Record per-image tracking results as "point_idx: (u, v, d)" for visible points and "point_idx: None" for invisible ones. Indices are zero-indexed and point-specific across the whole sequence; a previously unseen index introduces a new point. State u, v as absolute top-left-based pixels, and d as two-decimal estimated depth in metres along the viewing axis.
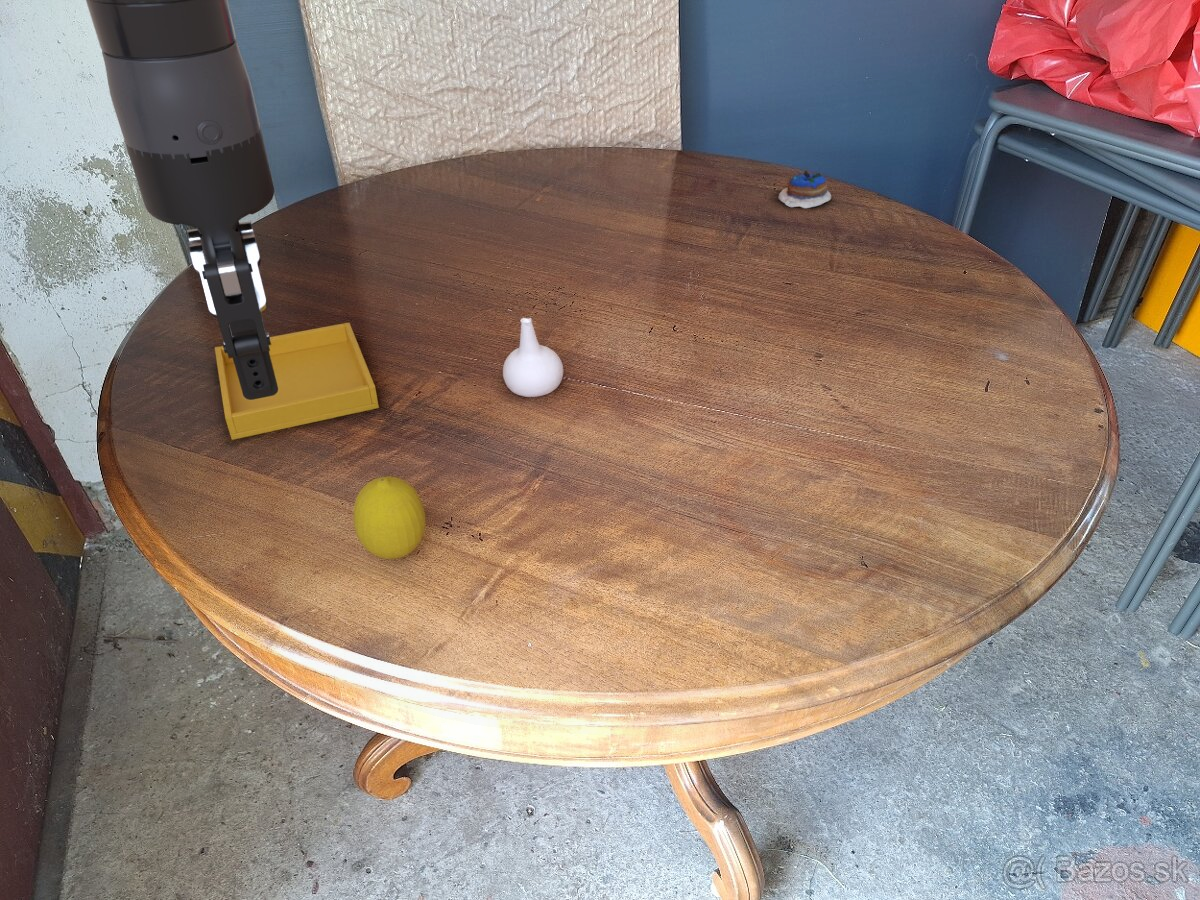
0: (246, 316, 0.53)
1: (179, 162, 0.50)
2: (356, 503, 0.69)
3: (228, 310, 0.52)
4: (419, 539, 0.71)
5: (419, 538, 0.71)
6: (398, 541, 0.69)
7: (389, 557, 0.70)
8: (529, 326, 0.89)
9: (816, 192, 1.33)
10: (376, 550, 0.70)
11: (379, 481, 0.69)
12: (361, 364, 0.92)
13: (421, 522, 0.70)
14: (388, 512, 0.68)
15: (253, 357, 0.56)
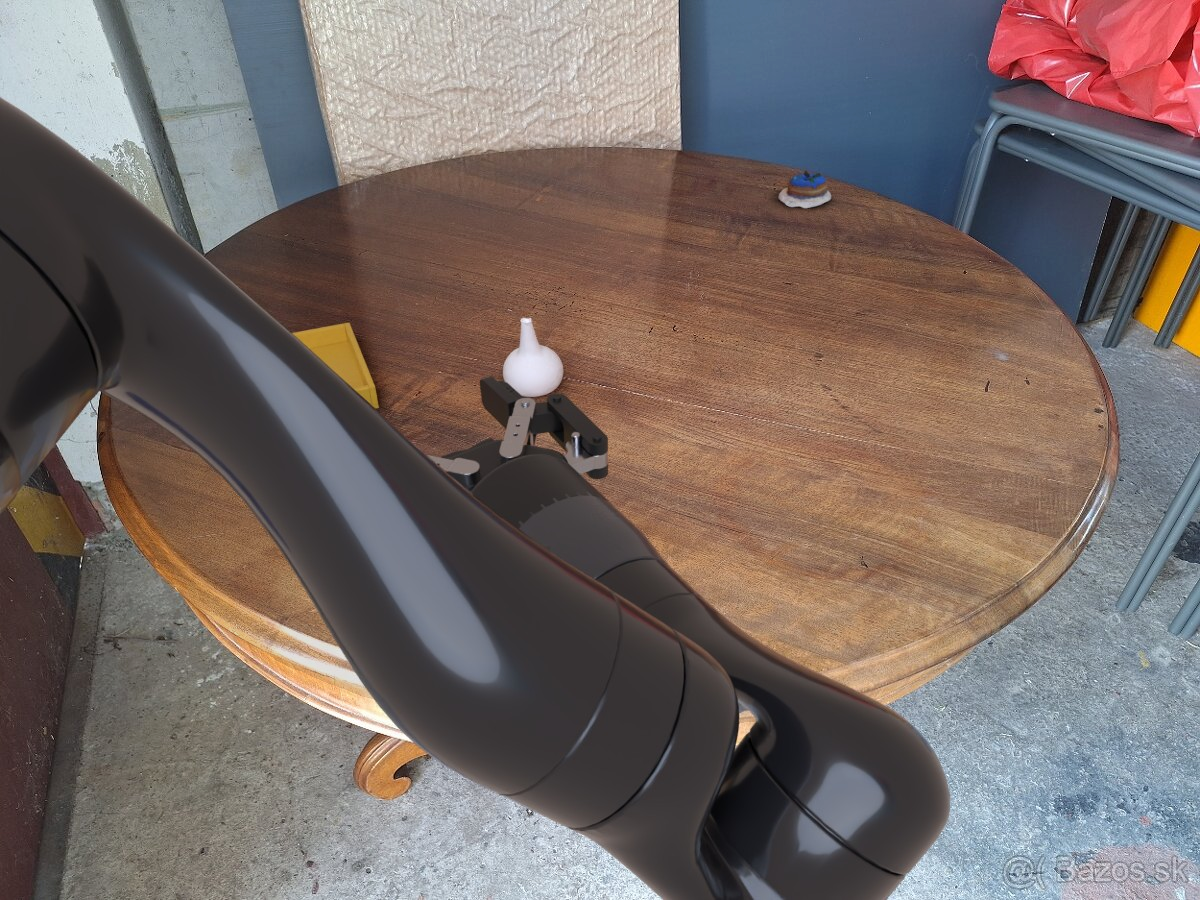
0: None
1: None
2: None
3: None
4: None
5: None
6: None
7: None
8: (529, 326, 0.89)
9: (816, 192, 1.33)
10: None
11: None
12: (361, 364, 0.92)
13: None
14: None
15: None
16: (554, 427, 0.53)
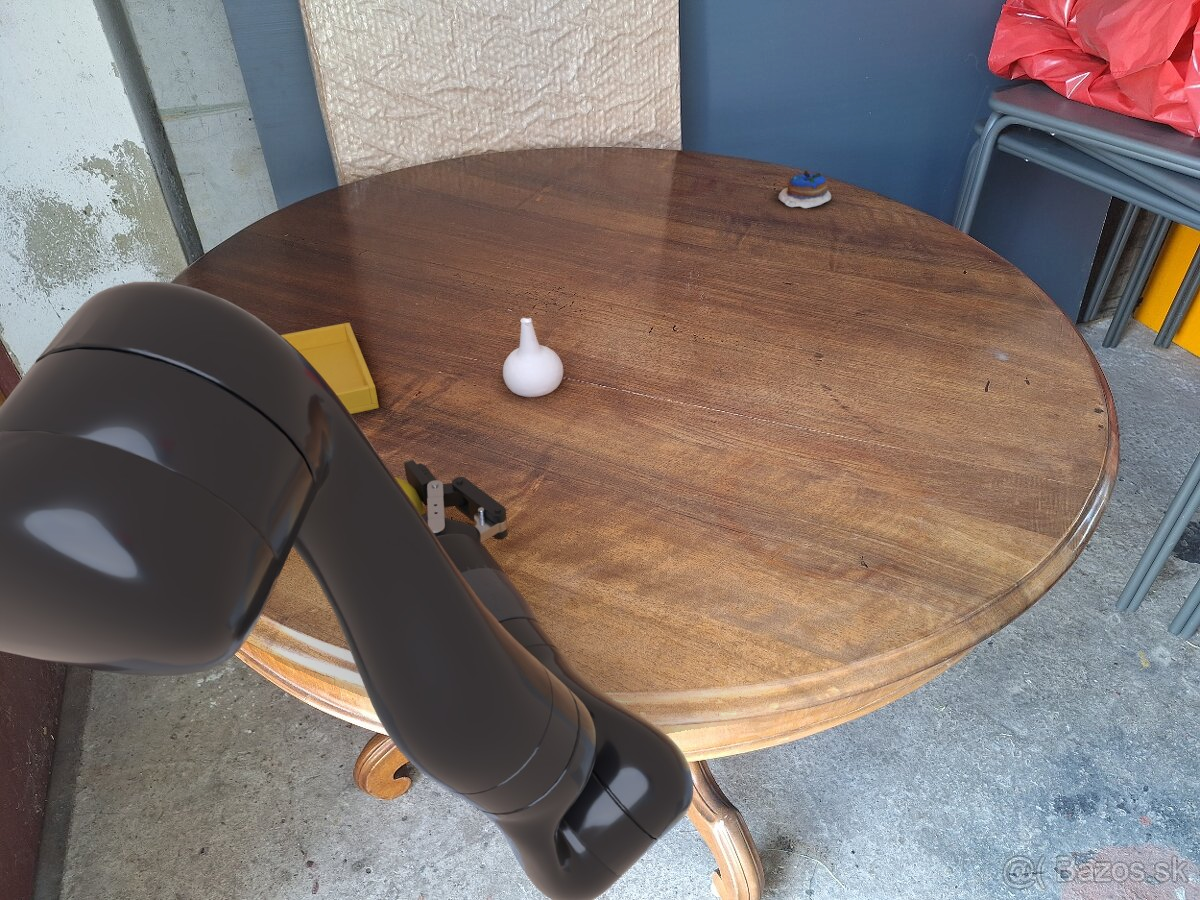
0: None
1: None
2: None
3: None
4: None
5: None
6: None
7: None
8: (529, 326, 0.89)
9: (816, 192, 1.33)
10: None
11: None
12: (361, 364, 0.92)
13: None
14: None
15: None
16: (457, 502, 0.70)
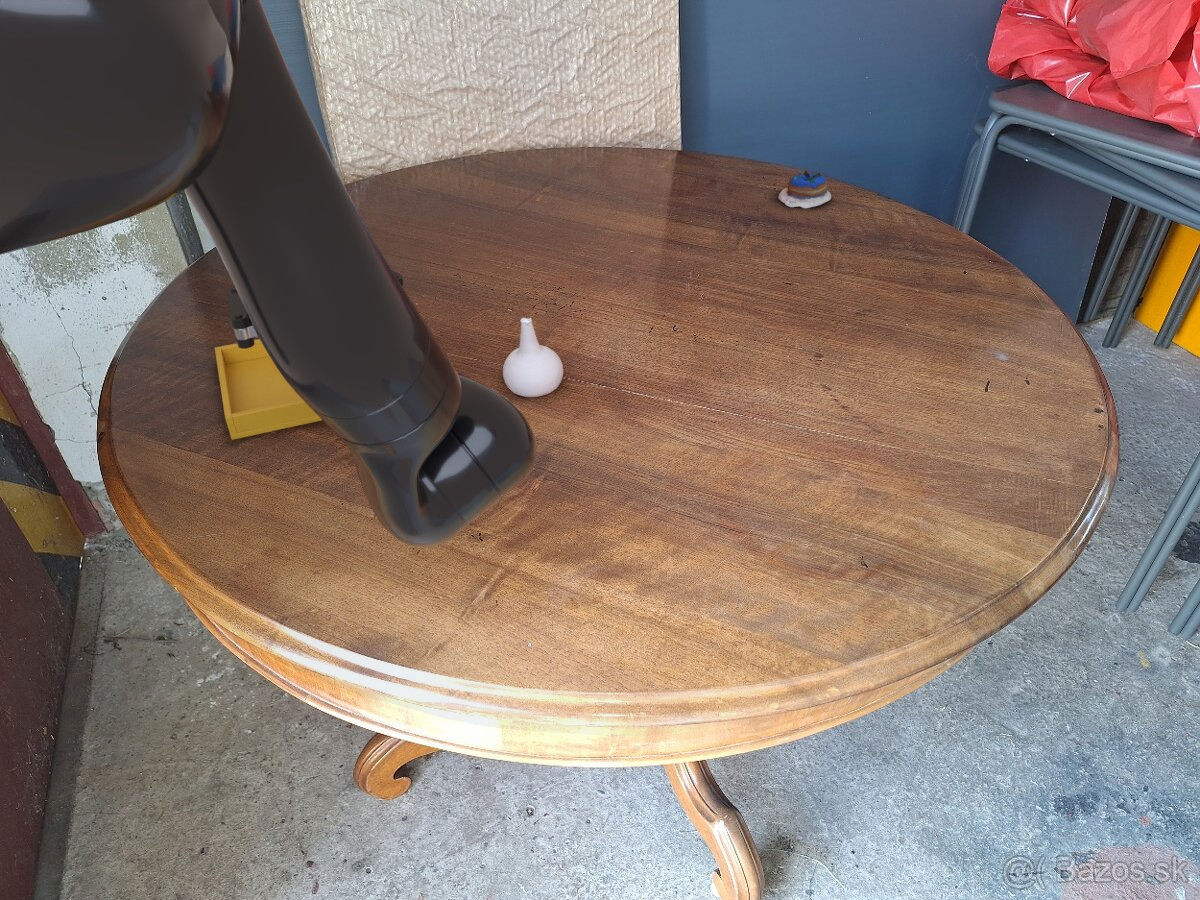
0: None
1: None
2: None
3: None
4: None
5: None
6: None
7: None
8: (529, 326, 0.89)
9: (816, 192, 1.33)
10: None
11: None
12: None
13: None
14: None
15: None
16: None
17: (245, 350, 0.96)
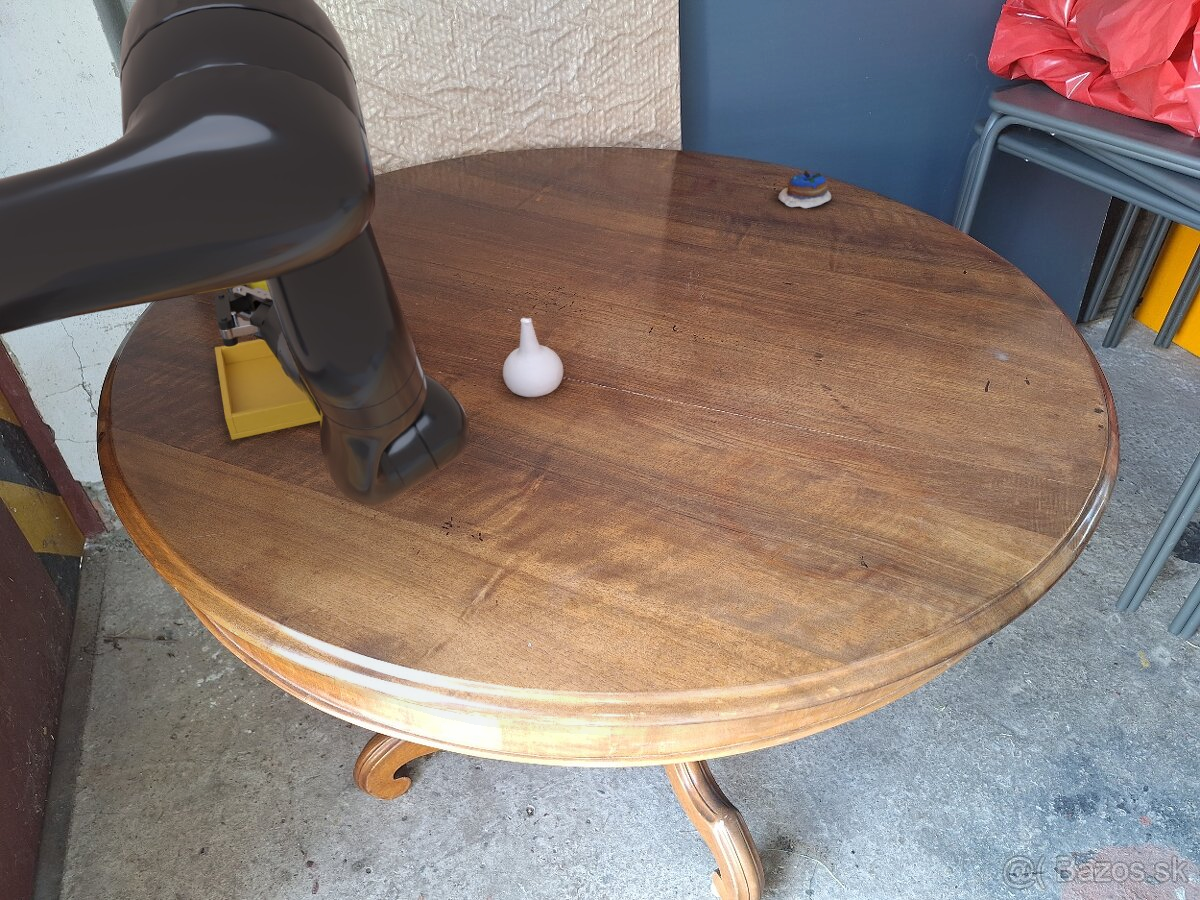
0: None
1: (275, 343, 0.75)
2: (249, 285, 0.86)
3: None
4: None
5: None
6: None
7: None
8: (529, 326, 0.89)
9: (816, 192, 1.33)
10: None
11: None
12: None
13: None
14: None
15: None
16: None
17: (245, 350, 0.96)
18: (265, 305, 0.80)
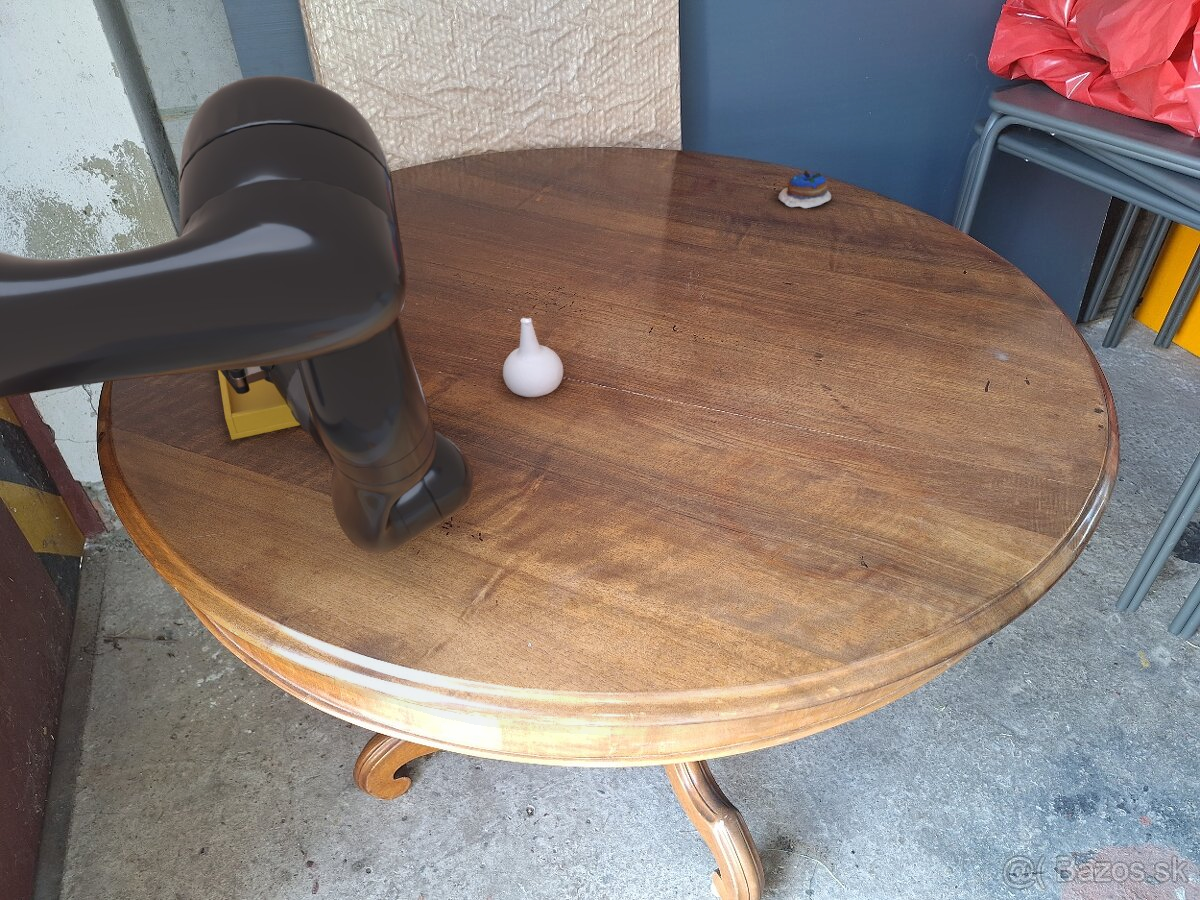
0: (224, 372, 0.83)
1: (285, 389, 0.78)
2: None
3: None
4: None
5: None
6: None
7: None
8: (529, 326, 0.89)
9: (816, 192, 1.33)
10: None
11: None
12: None
13: None
14: None
15: None
16: None
17: None
18: None
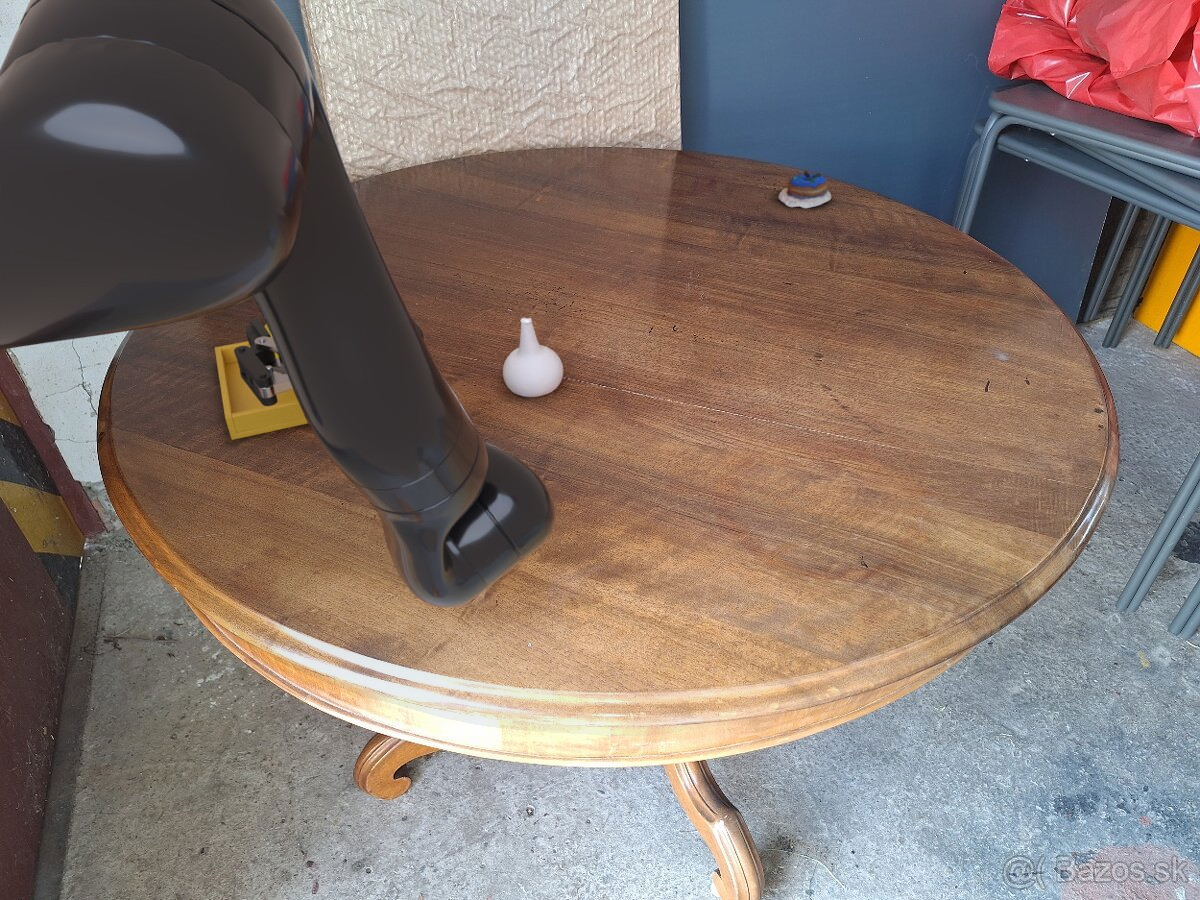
0: (247, 380, 0.70)
1: None
2: None
3: (247, 373, 0.69)
4: None
5: None
6: None
7: None
8: (529, 326, 0.89)
9: (816, 192, 1.33)
10: None
11: None
12: None
13: None
14: None
15: None
16: None
17: None
18: None
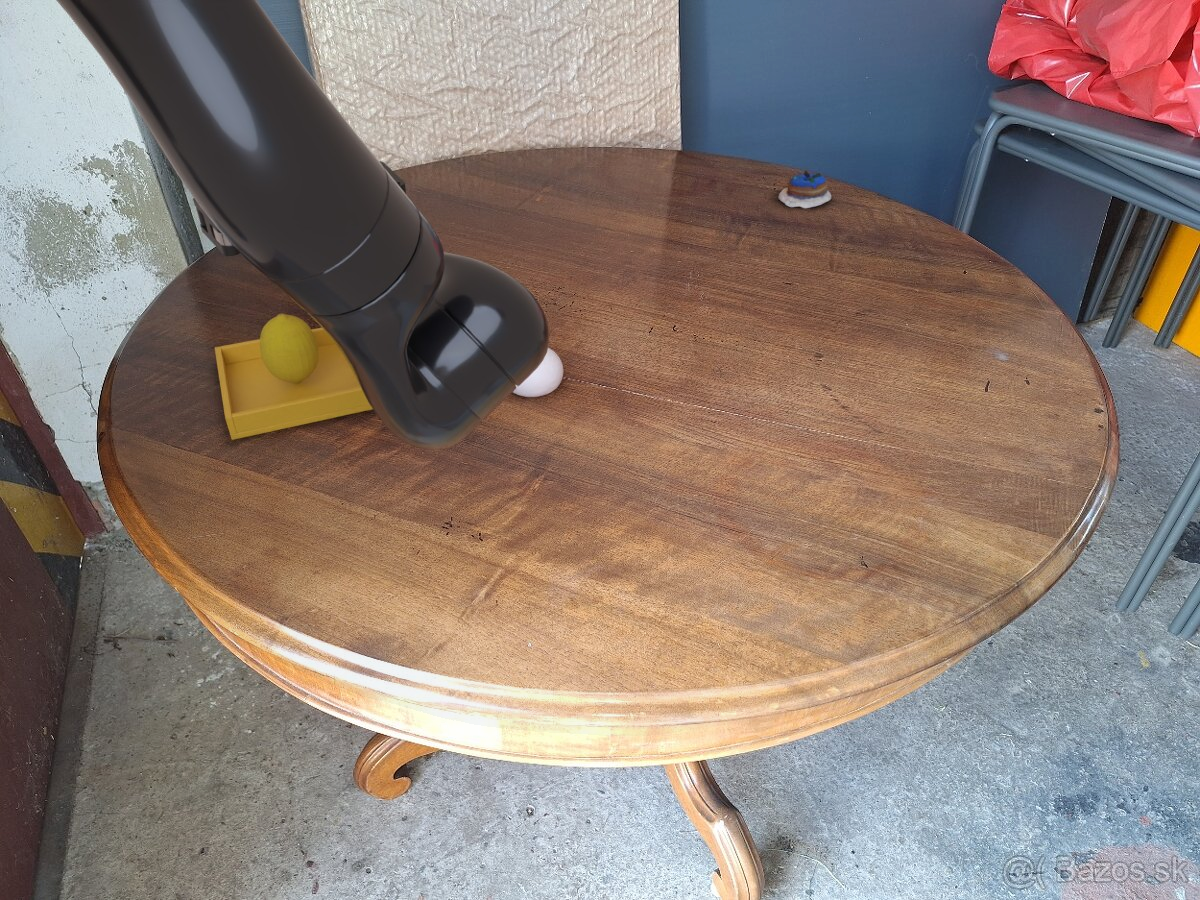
0: (208, 230, 0.63)
1: None
2: (261, 334, 0.89)
3: (207, 221, 0.62)
4: (312, 365, 0.91)
5: (312, 364, 0.90)
6: (293, 363, 0.89)
7: (288, 378, 0.90)
8: None
9: (816, 192, 1.33)
10: (277, 371, 0.89)
11: (278, 315, 0.88)
12: None
13: (313, 351, 0.90)
14: (285, 338, 0.88)
15: None
16: None
17: (245, 350, 0.96)
18: None
